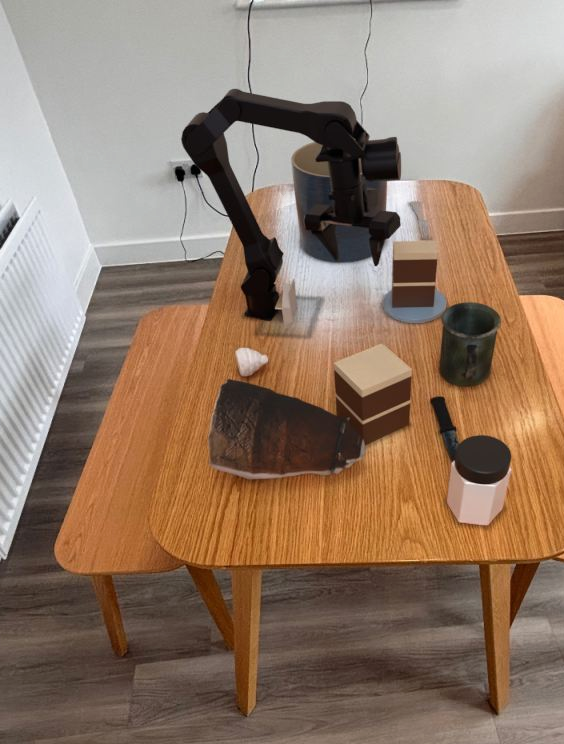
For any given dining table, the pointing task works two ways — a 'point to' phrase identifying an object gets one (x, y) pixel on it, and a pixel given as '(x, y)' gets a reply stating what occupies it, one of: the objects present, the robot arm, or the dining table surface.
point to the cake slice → (414, 273)
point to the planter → (315, 189)
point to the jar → (479, 479)
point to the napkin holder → (288, 302)
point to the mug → (468, 343)
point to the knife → (446, 425)
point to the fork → (420, 219)
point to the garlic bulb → (249, 361)
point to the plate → (416, 310)
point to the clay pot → (277, 435)
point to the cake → (373, 392)
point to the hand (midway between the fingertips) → (356, 262)
